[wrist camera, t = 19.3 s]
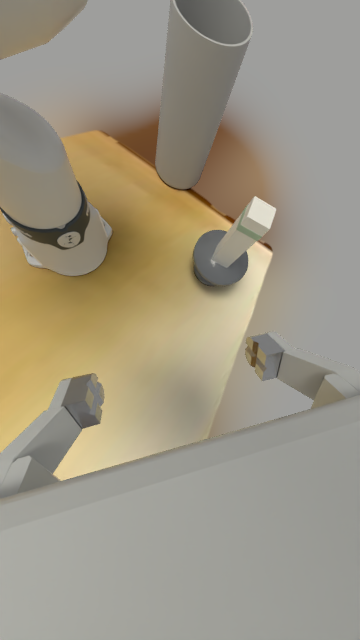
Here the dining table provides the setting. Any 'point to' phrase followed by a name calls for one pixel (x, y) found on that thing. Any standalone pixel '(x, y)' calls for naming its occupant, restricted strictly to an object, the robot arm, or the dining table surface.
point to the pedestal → (211, 270)
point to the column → (244, 232)
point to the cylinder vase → (197, 82)
